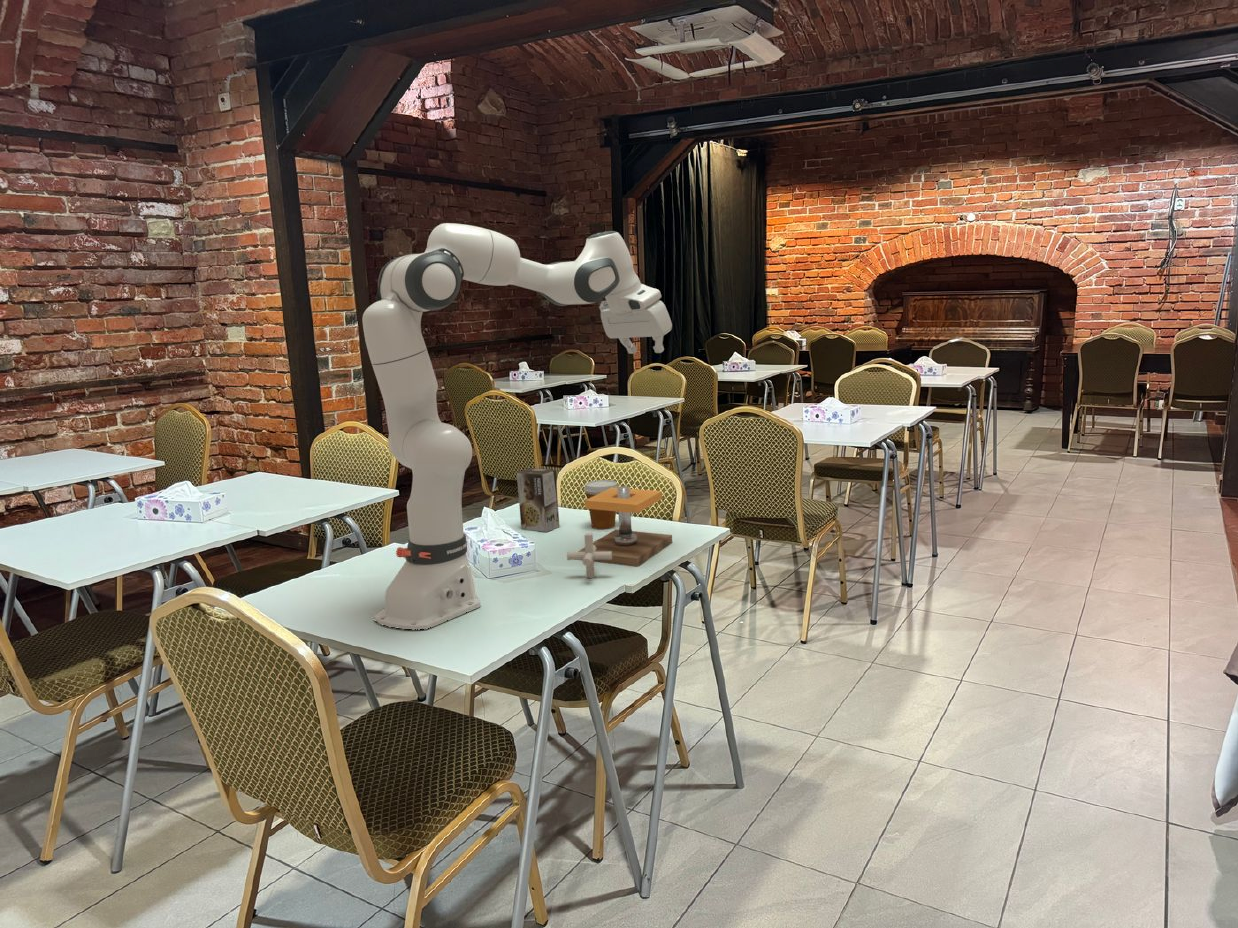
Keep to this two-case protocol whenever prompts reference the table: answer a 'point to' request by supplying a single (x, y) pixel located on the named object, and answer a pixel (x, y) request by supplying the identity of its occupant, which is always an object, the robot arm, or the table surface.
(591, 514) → the disposable coffee cup
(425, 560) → the robot arm
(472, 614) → the table surface
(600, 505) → the orange collar
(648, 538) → the walnut base board
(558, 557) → the table surface
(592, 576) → the pipe connector
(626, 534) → the metal pipe
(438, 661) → the table surface
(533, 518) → the grey-brown upright rectangular box
